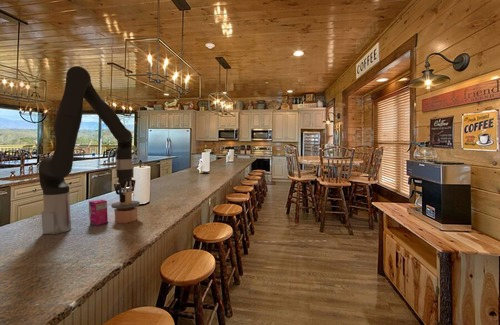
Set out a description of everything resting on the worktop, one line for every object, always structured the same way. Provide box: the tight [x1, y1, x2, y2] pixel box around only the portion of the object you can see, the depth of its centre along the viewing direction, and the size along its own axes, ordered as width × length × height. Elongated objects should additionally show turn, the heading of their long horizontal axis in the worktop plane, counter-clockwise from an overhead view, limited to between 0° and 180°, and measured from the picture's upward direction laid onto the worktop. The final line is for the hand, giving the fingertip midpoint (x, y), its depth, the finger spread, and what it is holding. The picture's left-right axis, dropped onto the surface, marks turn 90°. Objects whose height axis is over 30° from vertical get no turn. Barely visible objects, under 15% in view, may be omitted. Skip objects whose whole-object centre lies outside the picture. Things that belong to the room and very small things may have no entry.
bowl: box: [113, 206, 138, 224], centre depth 126 cm, size 10×10×6 cm
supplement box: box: [88, 199, 109, 227], centre depth 119 cm, size 6×6×12 cm
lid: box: [111, 191, 141, 209], centre depth 125 cm, size 13×13×7 cm
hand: (125, 201), depth 125 cm, fingers closed on lid, 4 cm apart
